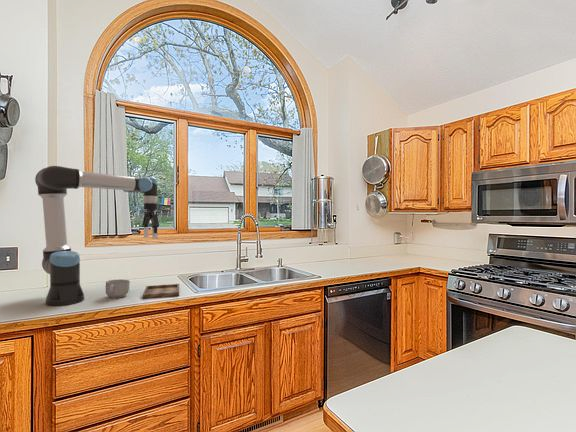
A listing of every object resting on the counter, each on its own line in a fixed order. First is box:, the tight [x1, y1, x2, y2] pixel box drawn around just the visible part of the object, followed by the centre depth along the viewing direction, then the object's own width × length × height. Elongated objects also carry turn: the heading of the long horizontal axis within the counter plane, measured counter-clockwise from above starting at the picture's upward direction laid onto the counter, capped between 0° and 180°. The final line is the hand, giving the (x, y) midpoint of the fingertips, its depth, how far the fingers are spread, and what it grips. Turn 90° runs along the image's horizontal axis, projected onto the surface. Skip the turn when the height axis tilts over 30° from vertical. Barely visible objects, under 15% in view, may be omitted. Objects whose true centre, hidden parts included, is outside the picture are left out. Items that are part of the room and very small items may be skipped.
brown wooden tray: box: [142, 283, 180, 300], centre depth 172 cm, size 17×20×2 cm
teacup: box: [105, 278, 131, 299], centre depth 163 cm, size 14×11×8 cm
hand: (150, 238), depth 198 cm, fingers open, 13 cm apart
